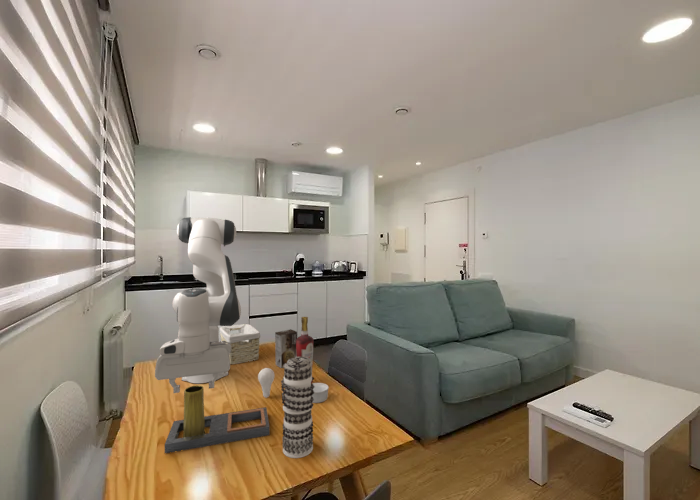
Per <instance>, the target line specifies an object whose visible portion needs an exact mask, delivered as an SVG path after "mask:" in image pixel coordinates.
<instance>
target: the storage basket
mask: <svg viewBox="0 0 700 500" xmlns="http://www.w3.org/2000/svg"><path fill="white" fill-rule="evenodd" d="M238 330H240V332H238V333H231V331H238ZM219 337H220V341H226V342H229V343H230V344H231V353H230V354H229V357H230V365H236V364H242V363H248V361H249V362H254V361H256V360H257V361H258V360H259V356H260V338H261V334H260V331H259V330H258V329H257V328H255V326H253V325H251V324H248V323H245V324H243V323H242V324H235V325H234V324H233V325H232V326H220V327H219ZM226 344H227V343H226ZM253 360H254V361H253Z"/></svg>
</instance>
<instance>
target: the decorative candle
mask: <svg viewBox="0 0 700 500" xmlns="http://www.w3.org/2000/svg"><path fill="white" fill-rule="evenodd" d="M313 365H314V364H313V362H312V363H311V362H310V361H309V360H308V359H307V358H305V357H293V358H291V359H289V360H288V361H287V363H285V364H284V365H283V366H284V368H283V372H284V375H283V377H282V379H281V380H280V382H281V387H280V388H281V389H280V390H281V392H282V393H281V396H282V397H281V400H282V401H281V403H282V411H283V412H284V413H283V415H284V416H283V424H282V435H283V436H282V453H283V454H284V456H285V457H288V458H290V459H299V458H304V457H307V456H309V454H311V453H312V452H313V449H314V442H313V441H314V434H313V432H314V428H313V427H314V421H313V415H312V410H313V408H314V403H312V402H313V400H314V399H313V397H312V395H313V394H314V391H313V388H314V385H313V384H312V383H313V382H312V383H311V381H312V380H313V381H314V380H315V377H314V376H313V373H312V374H311V366H312V367H313Z"/></svg>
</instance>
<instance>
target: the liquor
mask: <svg viewBox="0 0 700 500" xmlns="http://www.w3.org/2000/svg"><path fill="white" fill-rule="evenodd" d="M300 318H301V319H300V320H301V333H300V336H297V339H296V355H297V357H305V358H307V359H308V360H309V361H310V362H311V363H312V364H313V361H314V359H313V356H314V338H313V337H312V336H311V335H309V330H308V321H309V317H308V316H301V317H300ZM311 374H312V375H313V365H312V366H311ZM311 383H314V380H312V381H311Z"/></svg>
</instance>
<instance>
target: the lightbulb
mask: <svg viewBox="0 0 700 500" xmlns="http://www.w3.org/2000/svg"><path fill="white" fill-rule="evenodd" d="M257 380H258V382H259V384H260V387H261V391H262V396H263V397H264V398H265V399H267V398H269V397H270V395H271V388H272V384H273V382H274V380H275V372H274V370H273V369H271V368H269V367H263V368H262V369H261V370H260V371H259V373H258V374H257Z"/></svg>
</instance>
